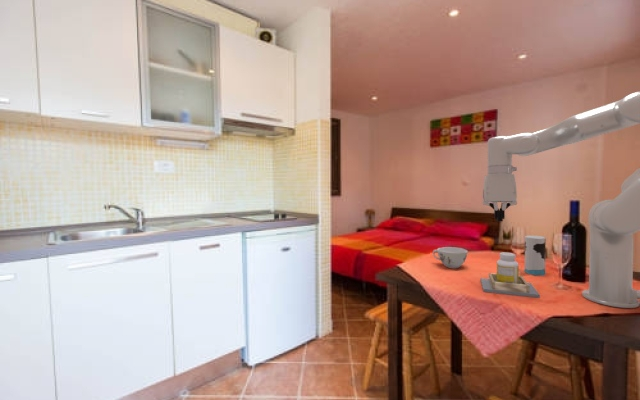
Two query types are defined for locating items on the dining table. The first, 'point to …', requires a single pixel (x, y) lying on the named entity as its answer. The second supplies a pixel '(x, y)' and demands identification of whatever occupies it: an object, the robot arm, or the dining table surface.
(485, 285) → the dock board
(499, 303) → the dining table surface
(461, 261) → the teacup
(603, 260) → the robot arm
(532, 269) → the milk carton
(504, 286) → the beige square tray
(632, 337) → the dining table surface
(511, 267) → the pill bottle
